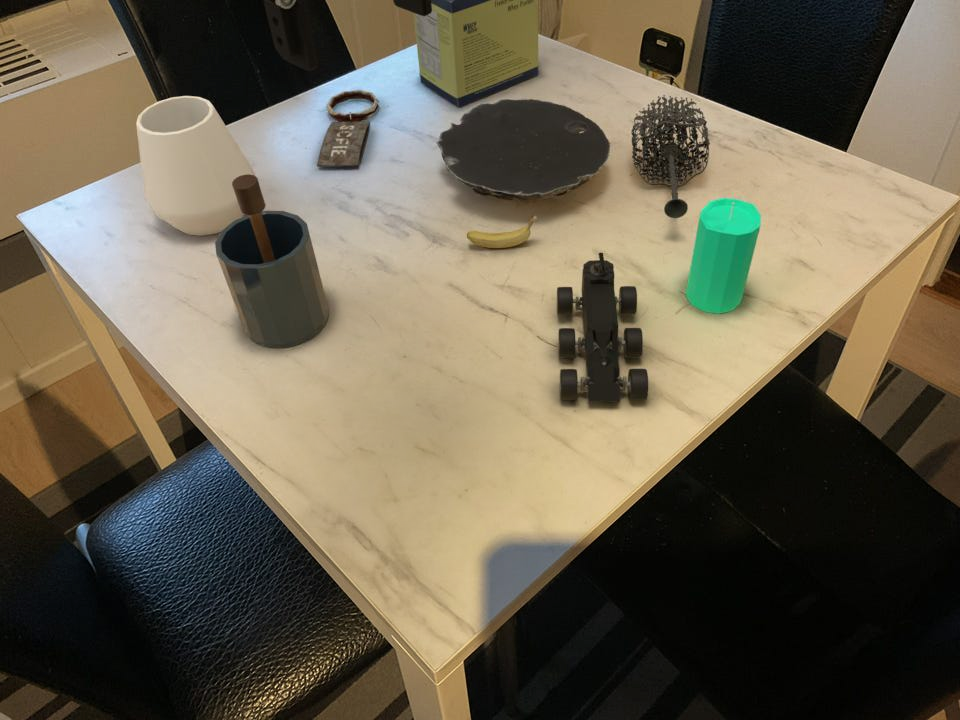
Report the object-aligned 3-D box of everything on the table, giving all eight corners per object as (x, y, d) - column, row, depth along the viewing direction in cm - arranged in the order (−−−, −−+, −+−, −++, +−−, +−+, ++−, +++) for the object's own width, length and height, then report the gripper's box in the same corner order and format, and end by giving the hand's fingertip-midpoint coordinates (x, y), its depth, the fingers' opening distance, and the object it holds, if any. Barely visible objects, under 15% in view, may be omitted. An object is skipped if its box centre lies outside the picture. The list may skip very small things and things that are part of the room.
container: (248, 356, 83) (218, 276, 75) (241, 301, 90) (212, 221, 82) (335, 336, 85) (314, 255, 77) (322, 282, 91) (301, 202, 83)
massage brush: (630, 240, 93) (637, 172, 87) (627, 140, 108) (633, 74, 102) (711, 243, 92) (726, 174, 86) (698, 141, 107) (709, 75, 101)
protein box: (540, 75, 122) (540, -31, 111) (458, 109, 116) (449, 1, 105) (498, 51, 128) (495, -51, 117) (418, 83, 122) (406, -21, 111)
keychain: (307, 170, 107) (304, 157, 106) (332, 99, 120) (330, 87, 119) (364, 169, 107) (362, 156, 105) (383, 98, 120) (381, 86, 118)
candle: (716, 269, 89) (735, 178, 80) (754, 300, 85) (778, 208, 77) (673, 289, 87) (689, 198, 79) (710, 321, 84) (731, 229, 75)
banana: (535, 238, 95) (535, 210, 92) (537, 247, 94) (537, 219, 91) (467, 243, 95) (465, 216, 92) (468, 253, 93) (466, 225, 91)
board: (601, 128, 111) (604, 94, 107) (615, 224, 96) (618, 188, 92) (444, 133, 112) (441, 99, 108) (433, 228, 97) (429, 193, 93)
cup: (230, 171, 108) (198, 74, 98) (283, 212, 101) (255, 112, 91) (138, 214, 102) (95, 115, 92) (188, 261, 95) (147, 159, 85)
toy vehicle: (632, 302, 86) (640, 237, 80) (646, 408, 76) (656, 344, 70) (556, 303, 87) (557, 238, 80) (560, 409, 76) (562, 344, 70)
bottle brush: (267, 331, 85) (222, 199, 73) (263, 305, 88) (219, 173, 76) (308, 322, 86) (270, 189, 73) (303, 296, 89) (265, 164, 76)
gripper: (195, -266, 34) (287, 107, 46) (478, -324, 42) (491, 5, 54) (108, -279, 37) (214, 69, 50) (383, -330, 46) (415, -21, 58)
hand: (358, 35), depth 52 cm, fingers open, 9 cm apart
